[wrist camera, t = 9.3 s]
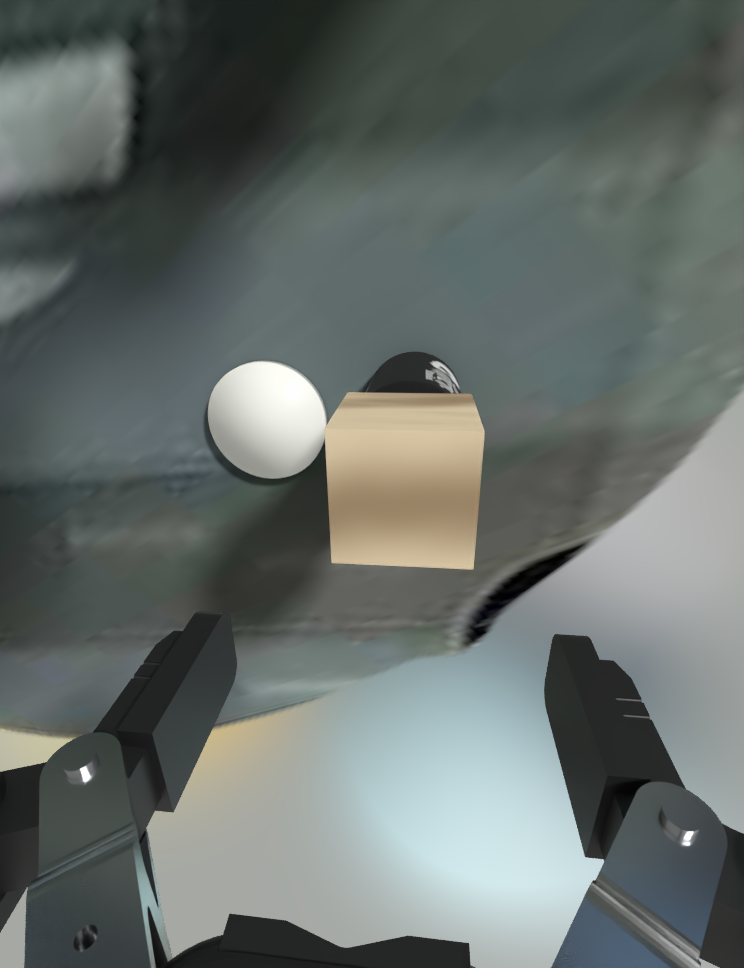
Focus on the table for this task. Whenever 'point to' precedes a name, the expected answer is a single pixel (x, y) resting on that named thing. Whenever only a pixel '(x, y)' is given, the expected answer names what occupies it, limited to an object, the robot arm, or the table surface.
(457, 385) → the beverage can
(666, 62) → the table surface
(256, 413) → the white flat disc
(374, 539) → the oak cube
